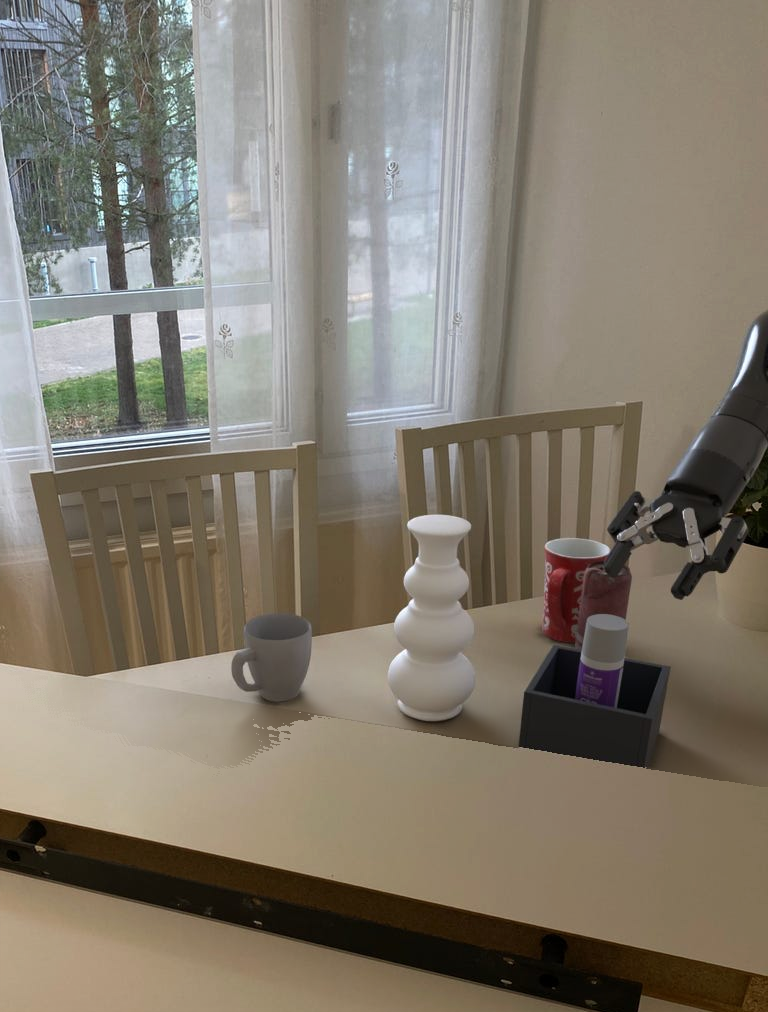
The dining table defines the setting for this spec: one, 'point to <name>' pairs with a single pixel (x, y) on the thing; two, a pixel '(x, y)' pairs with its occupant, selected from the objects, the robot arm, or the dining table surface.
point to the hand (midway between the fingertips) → (641, 584)
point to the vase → (434, 625)
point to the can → (602, 596)
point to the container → (602, 660)
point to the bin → (593, 712)
